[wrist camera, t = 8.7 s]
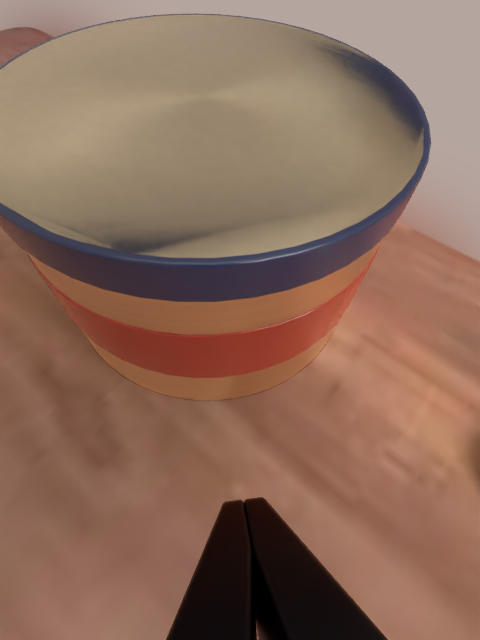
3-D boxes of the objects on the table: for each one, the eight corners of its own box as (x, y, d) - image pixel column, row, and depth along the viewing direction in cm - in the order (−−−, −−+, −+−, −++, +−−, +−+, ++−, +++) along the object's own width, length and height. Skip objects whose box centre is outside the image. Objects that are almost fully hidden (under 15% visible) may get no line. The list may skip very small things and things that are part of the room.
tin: (401, 305, 18) (530, 136, 10) (156, 475, 13) (62, 393, 6) (243, 165, 24) (251, -7, 16) (36, 247, 19) (-89, 58, 12)
